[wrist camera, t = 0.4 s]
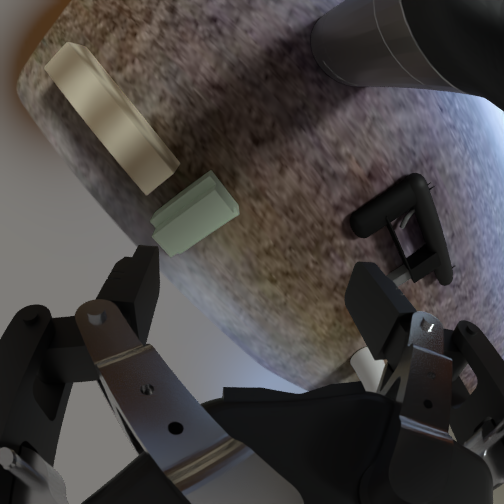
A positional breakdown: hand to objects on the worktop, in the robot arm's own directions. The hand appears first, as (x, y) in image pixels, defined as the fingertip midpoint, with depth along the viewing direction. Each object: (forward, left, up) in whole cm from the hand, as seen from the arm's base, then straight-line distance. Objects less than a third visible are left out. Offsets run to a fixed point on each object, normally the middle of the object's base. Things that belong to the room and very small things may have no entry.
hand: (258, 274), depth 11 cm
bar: (+1, -14, -21) cm, 25 cm away
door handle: (0, +25, -21) cm, 33 cm away
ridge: (+7, -2, -21) cm, 22 cm away
